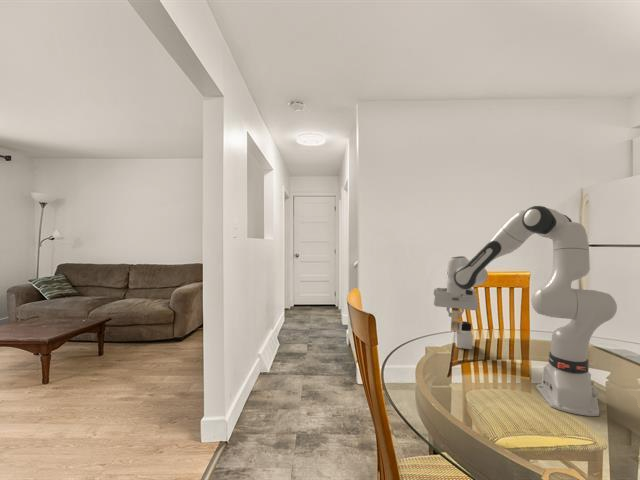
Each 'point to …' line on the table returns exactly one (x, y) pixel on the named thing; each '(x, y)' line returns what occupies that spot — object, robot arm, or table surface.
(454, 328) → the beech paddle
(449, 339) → the table surface
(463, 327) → the medicine bottle
